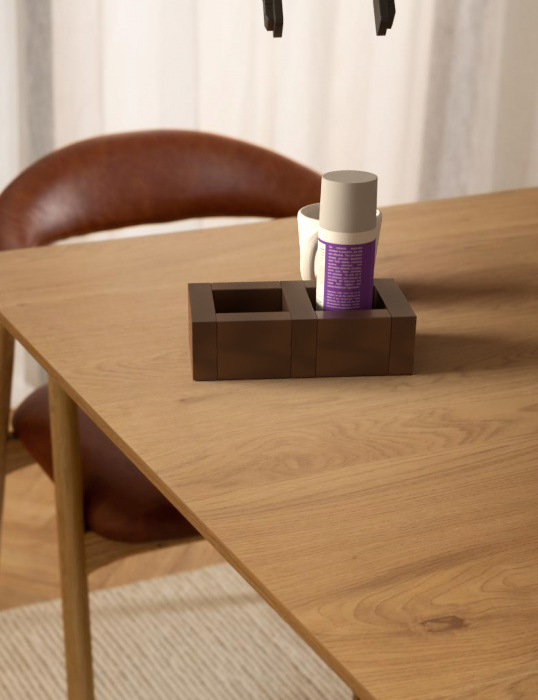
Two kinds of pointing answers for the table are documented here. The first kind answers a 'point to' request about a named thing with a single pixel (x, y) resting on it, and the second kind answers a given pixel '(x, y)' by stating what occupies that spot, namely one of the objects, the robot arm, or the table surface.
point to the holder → (296, 332)
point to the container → (346, 241)
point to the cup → (316, 239)
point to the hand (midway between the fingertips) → (331, 30)
